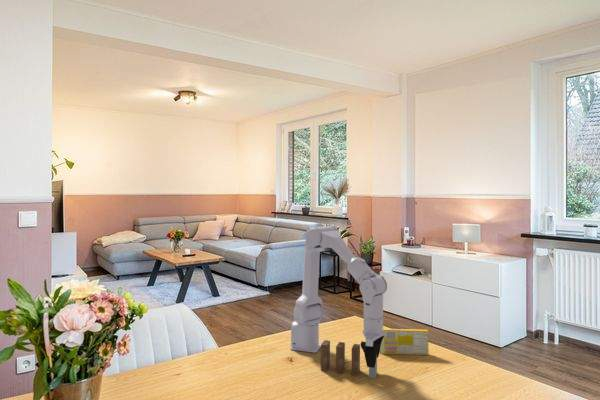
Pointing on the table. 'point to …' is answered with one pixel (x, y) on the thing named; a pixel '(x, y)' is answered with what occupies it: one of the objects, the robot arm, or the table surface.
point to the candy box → (405, 342)
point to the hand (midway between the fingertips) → (372, 361)
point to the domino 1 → (325, 355)
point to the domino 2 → (340, 357)
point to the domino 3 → (355, 360)
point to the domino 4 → (373, 371)
